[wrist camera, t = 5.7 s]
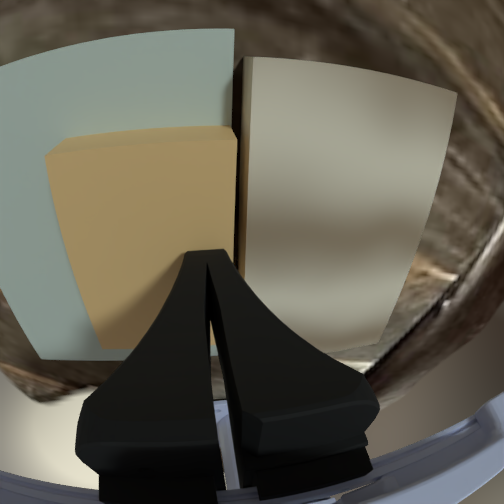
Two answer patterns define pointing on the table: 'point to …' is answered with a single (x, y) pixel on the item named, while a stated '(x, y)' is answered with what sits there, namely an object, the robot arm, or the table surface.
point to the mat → (79, 124)
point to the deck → (335, 191)
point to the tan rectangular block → (140, 216)
